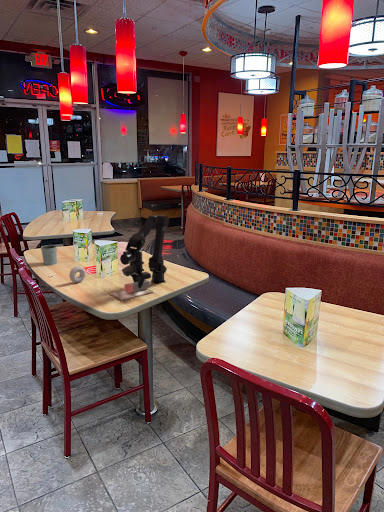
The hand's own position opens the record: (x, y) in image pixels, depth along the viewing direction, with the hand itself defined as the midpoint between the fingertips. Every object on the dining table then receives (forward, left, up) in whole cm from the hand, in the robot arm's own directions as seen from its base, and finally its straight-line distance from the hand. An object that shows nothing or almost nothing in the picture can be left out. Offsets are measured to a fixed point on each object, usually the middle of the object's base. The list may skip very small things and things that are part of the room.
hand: (138, 287), depth 209 cm
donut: (+20, -35, -3) cm, 40 cm away
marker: (0, 0, -1) cm, 1 cm away
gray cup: (+20, -83, -3) cm, 85 cm away
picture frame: (+4, 0, -3) cm, 5 cm away
